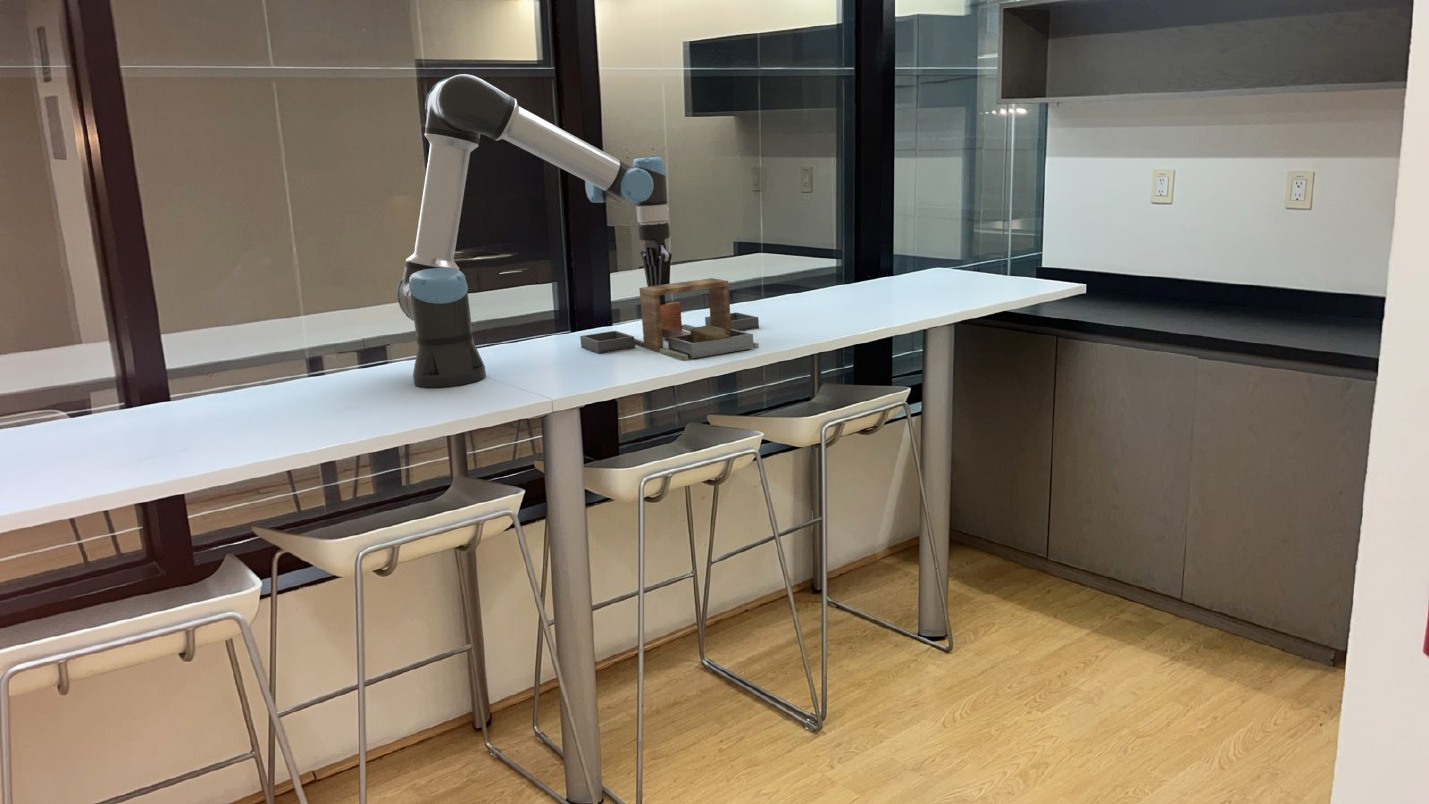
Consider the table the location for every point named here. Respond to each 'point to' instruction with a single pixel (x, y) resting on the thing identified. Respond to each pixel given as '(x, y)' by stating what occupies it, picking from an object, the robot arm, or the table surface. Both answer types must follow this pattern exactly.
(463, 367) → the robot arm
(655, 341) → the tunnel
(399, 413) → the table surface
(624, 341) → the tray
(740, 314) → the pit tray far
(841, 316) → the table surface
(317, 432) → the table surface
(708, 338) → the stone block
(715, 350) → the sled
